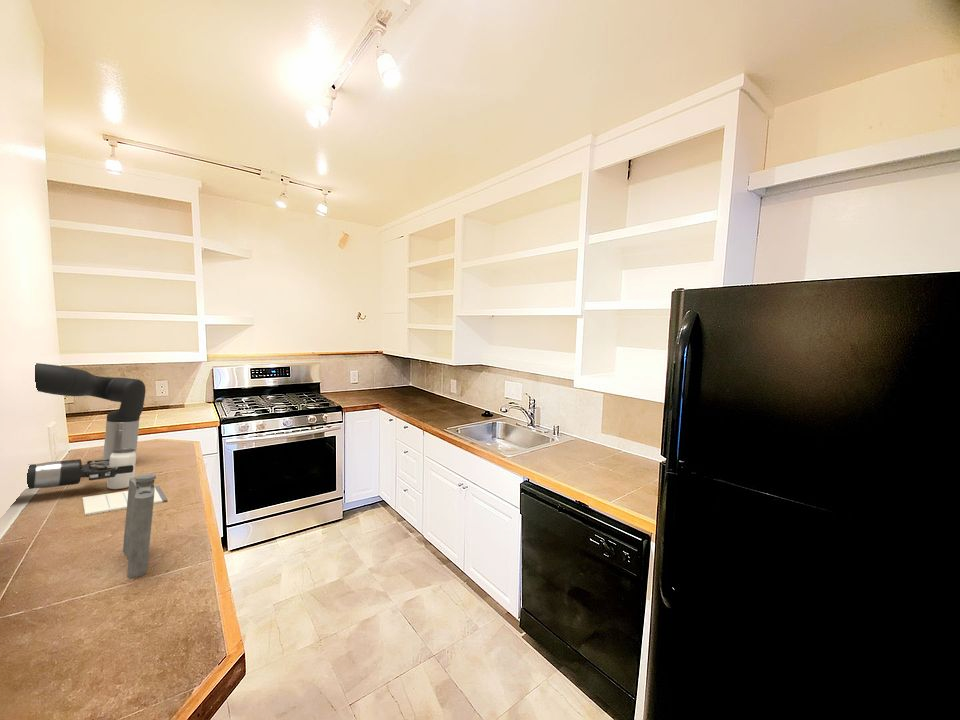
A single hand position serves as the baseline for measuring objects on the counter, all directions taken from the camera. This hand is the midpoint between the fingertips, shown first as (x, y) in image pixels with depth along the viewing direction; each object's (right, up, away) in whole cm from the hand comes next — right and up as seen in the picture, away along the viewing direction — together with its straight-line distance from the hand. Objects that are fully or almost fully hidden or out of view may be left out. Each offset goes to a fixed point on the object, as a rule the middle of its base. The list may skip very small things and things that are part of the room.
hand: (131, 465), depth 129 cm
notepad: (+8, -8, -11) cm, 16 cm away
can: (-2, -7, -2) cm, 7 cm away
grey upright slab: (+37, -11, -40) cm, 56 cm away
